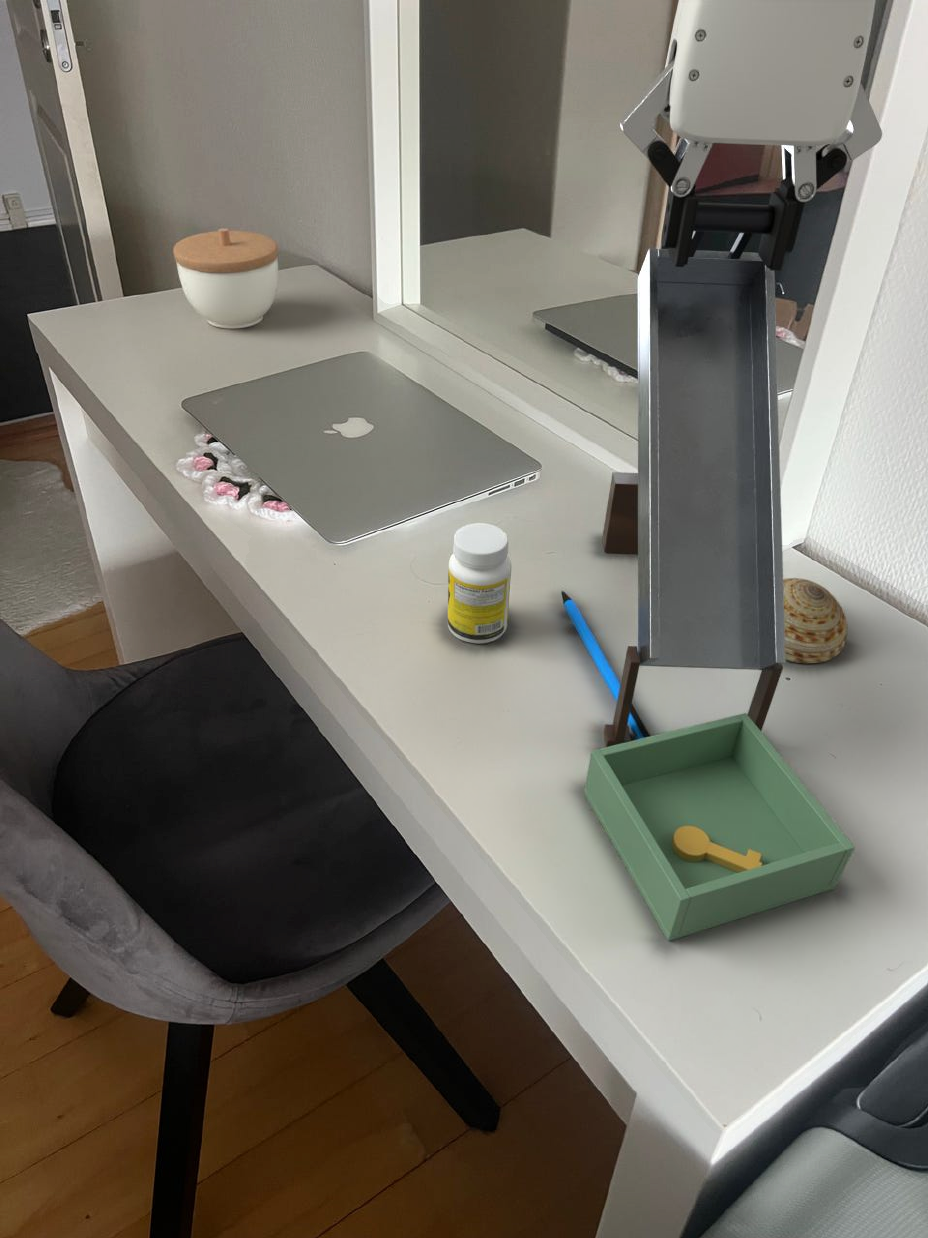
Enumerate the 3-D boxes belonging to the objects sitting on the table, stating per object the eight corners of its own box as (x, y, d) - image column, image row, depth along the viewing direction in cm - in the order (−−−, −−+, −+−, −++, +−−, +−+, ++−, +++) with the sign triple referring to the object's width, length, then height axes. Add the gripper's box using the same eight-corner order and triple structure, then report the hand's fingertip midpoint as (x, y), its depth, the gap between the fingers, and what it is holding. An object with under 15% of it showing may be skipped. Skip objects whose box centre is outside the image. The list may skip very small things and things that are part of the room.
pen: (649, 768, 61) (652, 756, 60) (556, 596, 75) (557, 585, 74) (662, 766, 61) (664, 754, 60) (566, 594, 75) (567, 583, 74)
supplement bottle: (462, 600, 74) (466, 513, 69) (516, 617, 73) (524, 529, 67) (436, 634, 71) (438, 545, 65) (492, 653, 69) (498, 563, 64)
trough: (637, 271, 63) (665, 195, 55) (755, 275, 63) (801, 200, 55) (637, 665, 58) (668, 647, 50) (765, 670, 58) (817, 652, 50)
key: (679, 820, 56) (677, 827, 57) (669, 846, 55) (667, 853, 55) (765, 854, 54) (762, 861, 55) (757, 882, 53) (754, 889, 53)
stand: (576, 539, 82) (586, 460, 77) (694, 543, 82) (712, 464, 77) (606, 749, 62) (622, 662, 57) (761, 754, 62) (791, 667, 57)
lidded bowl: (206, 344, 112) (192, 252, 105) (170, 310, 120) (155, 222, 113) (300, 325, 117) (293, 236, 110) (260, 294, 125) (251, 209, 118)
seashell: (801, 561, 76) (870, 582, 69) (800, 625, 78) (867, 653, 71) (716, 578, 74) (778, 601, 67) (717, 643, 76) (777, 673, 68)
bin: (732, 753, 62) (746, 712, 60) (834, 888, 54) (855, 847, 52) (583, 792, 59) (590, 750, 57) (668, 941, 51) (681, 900, 48)
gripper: (941, -107, 48) (840, 247, 60) (619, -120, 48) (580, 237, 60) (1004, -104, 42) (879, 288, 54) (638, -119, 42) (591, 277, 54)
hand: (723, 258), depth 57 cm, fingers closed on trough, 5 cm apart
